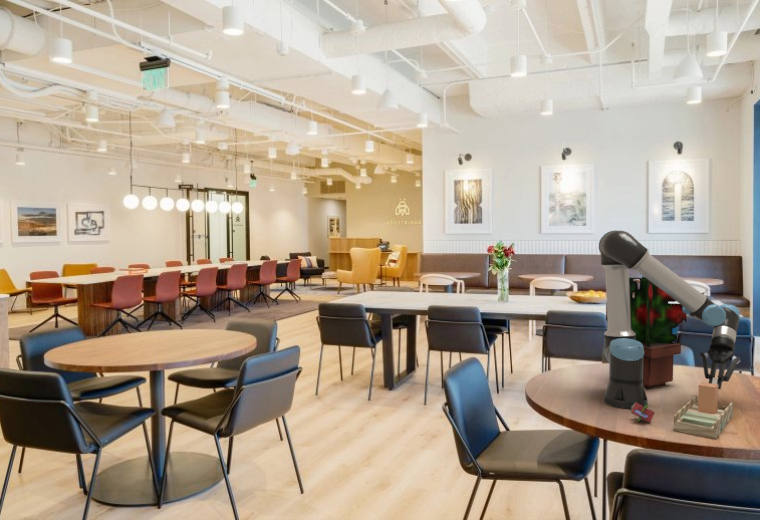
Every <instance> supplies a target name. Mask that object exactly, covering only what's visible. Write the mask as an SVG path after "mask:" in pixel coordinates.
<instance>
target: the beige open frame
mask: <svg viewBox="0 0 760 520" xmlns="http://www.w3.org/2000/svg"><path fill="white" fill-rule="evenodd" d="M733 417H734V401H730V403H729V404H728V405H727V406H726V405H720V404H718V411H717V412H716V413H715V414H712V413H706V412H701V411H698V395H694V396H693V397H691V399H690V400H689V401H688V402H687V403H686V404H684V405H683V406H682V407H681V408H680V409H679V410H678V411H677V412H676V413H674V414H673V429H672V430H673V431H674V432H678V433H684V434H687V435H694V436H699V437H702V438H703V437H704V438H708V439H713V440H717V438H718V436H719V435H720V434H721V433H722V432H723V430H724V428H726V426H727V425H728V423H729V422H730V421H731V420H732V418H733Z"/></svg>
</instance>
